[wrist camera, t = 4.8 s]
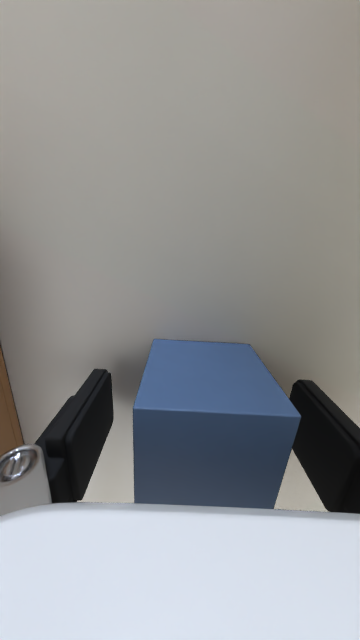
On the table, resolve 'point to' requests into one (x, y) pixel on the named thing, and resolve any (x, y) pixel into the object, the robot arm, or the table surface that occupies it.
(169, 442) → the block
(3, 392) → the carton
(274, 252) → the table surface
